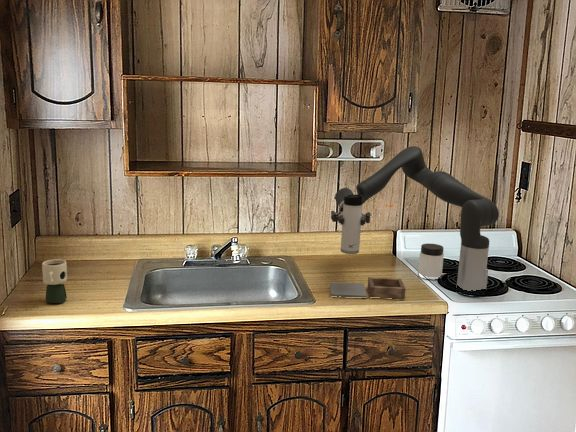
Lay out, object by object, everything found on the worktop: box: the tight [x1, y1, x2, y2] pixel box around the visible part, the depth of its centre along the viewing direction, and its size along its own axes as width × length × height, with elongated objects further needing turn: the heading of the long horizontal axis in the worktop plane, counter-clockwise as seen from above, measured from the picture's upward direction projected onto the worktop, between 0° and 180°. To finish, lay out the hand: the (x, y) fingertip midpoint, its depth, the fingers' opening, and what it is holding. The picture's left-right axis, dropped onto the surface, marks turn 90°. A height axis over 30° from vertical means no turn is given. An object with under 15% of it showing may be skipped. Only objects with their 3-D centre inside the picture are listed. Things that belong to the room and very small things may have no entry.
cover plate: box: [329, 282, 368, 298], centre depth 207 cm, size 12×12×1 cm
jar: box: [417, 243, 445, 277], centre depth 225 cm, size 9×8×12 cm
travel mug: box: [340, 194, 364, 255], centre depth 202 cm, size 6×7×20 cm
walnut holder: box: [367, 276, 406, 300], centre depth 206 cm, size 12×10×4 cm
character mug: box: [41, 258, 68, 304], centre depth 188 cm, size 11×7×13 cm, turn 6°
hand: (352, 222), depth 199 cm, fingers closed on travel mug, 6 cm apart
